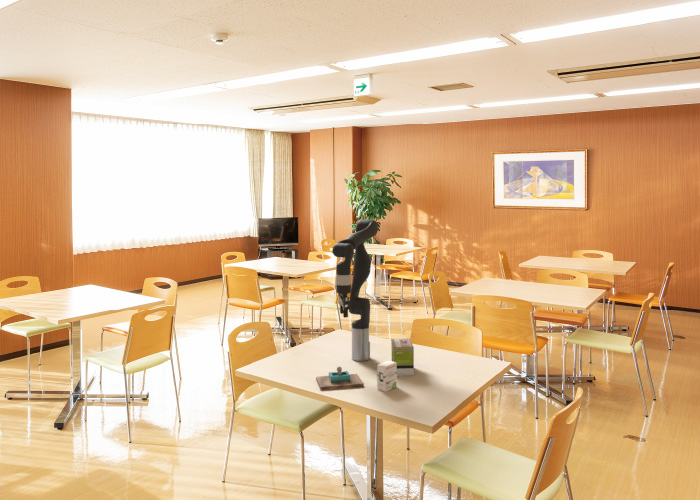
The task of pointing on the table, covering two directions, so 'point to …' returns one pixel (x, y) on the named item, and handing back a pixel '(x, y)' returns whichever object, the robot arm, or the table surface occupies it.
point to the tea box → (403, 356)
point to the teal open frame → (339, 377)
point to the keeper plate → (326, 384)
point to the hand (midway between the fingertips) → (344, 315)
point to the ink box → (386, 375)
